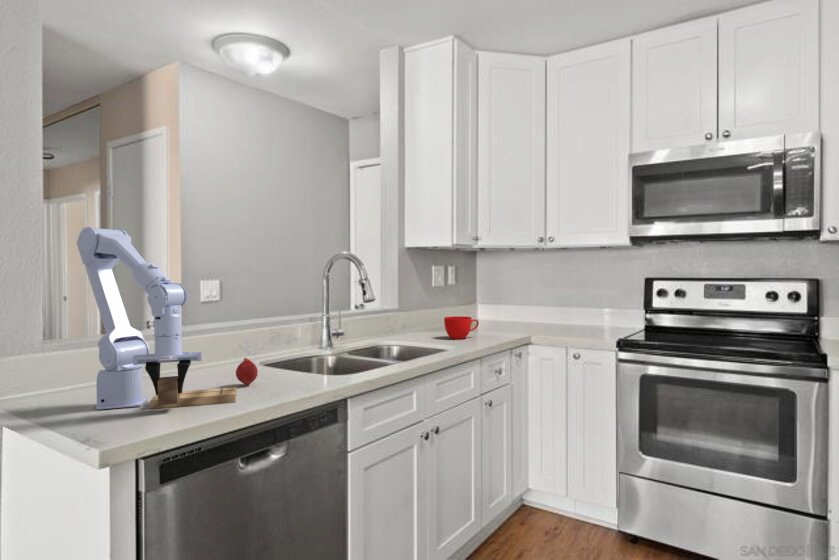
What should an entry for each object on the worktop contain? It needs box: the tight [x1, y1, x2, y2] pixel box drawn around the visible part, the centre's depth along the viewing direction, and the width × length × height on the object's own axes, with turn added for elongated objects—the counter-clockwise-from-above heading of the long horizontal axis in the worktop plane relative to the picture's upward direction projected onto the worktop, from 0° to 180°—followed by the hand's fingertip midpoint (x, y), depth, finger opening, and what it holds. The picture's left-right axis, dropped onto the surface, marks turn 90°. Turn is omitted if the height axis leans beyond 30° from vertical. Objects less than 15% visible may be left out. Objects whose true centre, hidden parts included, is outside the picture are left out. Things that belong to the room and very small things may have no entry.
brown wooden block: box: [158, 375, 180, 405], centre depth 122 cm, size 4×9×6 cm, turn 18°
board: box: [149, 386, 238, 410], centre depth 128 cm, size 19×8×2 cm, turn 108°
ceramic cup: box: [443, 316, 479, 340], centre depth 244 cm, size 13×17×10 cm
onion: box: [235, 357, 258, 387], centre depth 146 cm, size 6×6×8 cm
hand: (169, 393), depth 120 cm, fingers closed on brown wooden block, 4 cm apart
